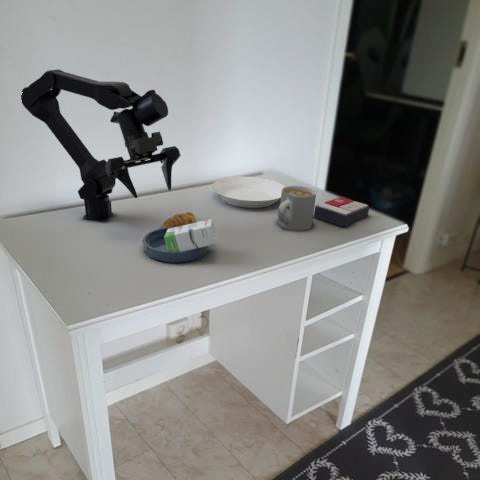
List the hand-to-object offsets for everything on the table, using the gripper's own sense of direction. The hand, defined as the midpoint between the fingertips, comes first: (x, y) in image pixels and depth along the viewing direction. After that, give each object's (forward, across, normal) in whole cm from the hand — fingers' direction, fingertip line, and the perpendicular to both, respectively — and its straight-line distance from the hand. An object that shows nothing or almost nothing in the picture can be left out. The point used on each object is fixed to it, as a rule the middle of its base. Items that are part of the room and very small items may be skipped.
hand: (153, 193), depth 126 cm
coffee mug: (+17, +38, +4) cm, 42 cm away
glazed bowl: (+15, +1, -1) cm, 15 cm away
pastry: (+9, +8, +11) cm, 16 cm away
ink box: (+13, -2, -5) cm, 14 cm away
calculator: (+19, +57, +5) cm, 61 cm away
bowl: (+4, +38, +25) cm, 46 cm away
